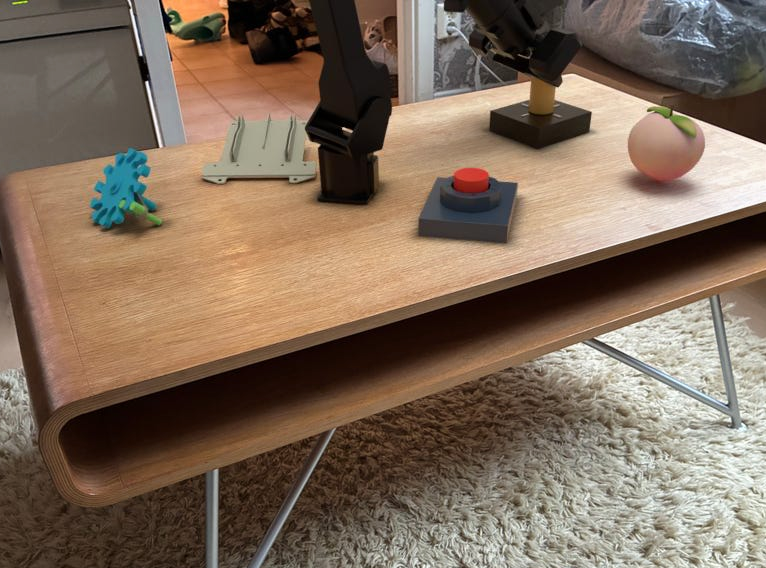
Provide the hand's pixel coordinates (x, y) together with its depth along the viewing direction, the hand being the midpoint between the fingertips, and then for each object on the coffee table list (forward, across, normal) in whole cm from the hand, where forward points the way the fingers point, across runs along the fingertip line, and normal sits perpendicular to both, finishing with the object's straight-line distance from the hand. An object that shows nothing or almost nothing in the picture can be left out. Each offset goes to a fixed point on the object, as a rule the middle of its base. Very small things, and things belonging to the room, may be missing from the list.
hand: (551, 81), depth 110 cm
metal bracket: (-24, +10, +34) cm, 43 cm away
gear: (-38, +2, +49) cm, 62 cm away
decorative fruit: (+5, -23, +6) cm, 24 cm away
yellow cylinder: (+2, 0, +4) cm, 4 cm away
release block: (-14, -19, +24) cm, 33 cm away
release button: (-16, -19, +21) cm, 33 cm away
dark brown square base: (+4, 0, +6) cm, 7 cm away
